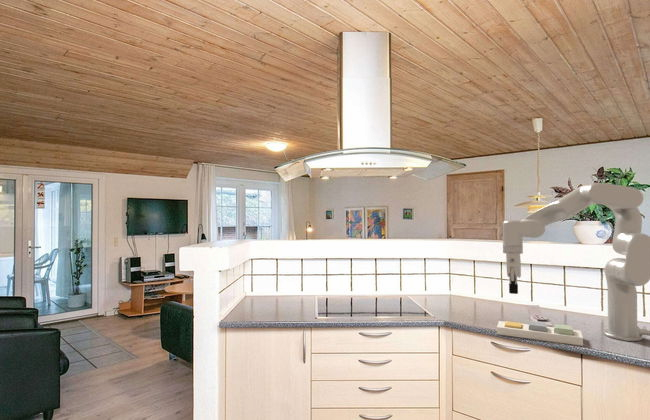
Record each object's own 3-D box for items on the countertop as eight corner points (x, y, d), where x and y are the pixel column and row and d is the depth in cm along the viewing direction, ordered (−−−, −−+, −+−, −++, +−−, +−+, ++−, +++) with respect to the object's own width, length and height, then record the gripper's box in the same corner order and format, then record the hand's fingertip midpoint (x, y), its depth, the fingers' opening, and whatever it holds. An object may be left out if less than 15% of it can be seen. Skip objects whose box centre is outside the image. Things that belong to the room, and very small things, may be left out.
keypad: (580, 338, 156) (580, 330, 156) (583, 345, 147) (583, 337, 147) (499, 327, 170) (499, 320, 170) (496, 334, 162) (496, 327, 162)
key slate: (546, 329, 160) (546, 322, 160) (546, 333, 155) (546, 326, 155) (529, 327, 163) (529, 321, 163) (529, 330, 158) (529, 324, 158)
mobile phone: (539, 305, 187) (554, 318, 163) (539, 317, 187) (555, 332, 163) (525, 304, 189) (539, 317, 165) (525, 316, 189) (539, 331, 165)
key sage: (572, 332, 156) (572, 325, 156) (573, 336, 150) (573, 330, 150) (554, 330, 158) (554, 323, 158) (555, 334, 153) (555, 327, 153)
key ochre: (521, 328, 164) (521, 323, 164) (521, 332, 159) (521, 326, 159) (506, 327, 167) (506, 321, 167) (505, 330, 162) (505, 324, 162)
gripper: (522, 251, 155) (522, 297, 155) (523, 248, 168) (524, 290, 168) (501, 251, 158) (502, 296, 158) (504, 247, 171) (505, 289, 171)
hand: (513, 293), depth 163 cm, fingers closed
